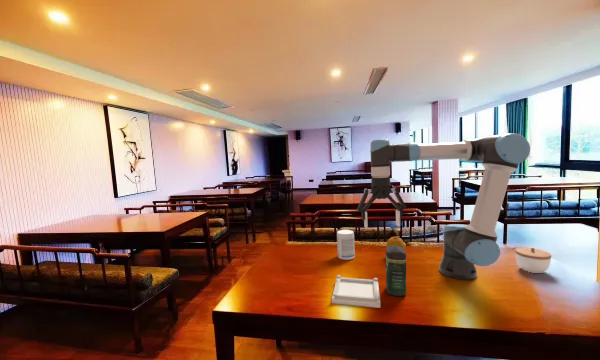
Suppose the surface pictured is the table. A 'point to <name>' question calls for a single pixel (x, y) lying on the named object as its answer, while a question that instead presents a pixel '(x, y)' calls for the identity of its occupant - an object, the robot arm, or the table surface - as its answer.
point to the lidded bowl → (533, 259)
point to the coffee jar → (395, 270)
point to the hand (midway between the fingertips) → (382, 226)
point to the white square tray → (356, 292)
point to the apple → (396, 242)
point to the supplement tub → (345, 244)
